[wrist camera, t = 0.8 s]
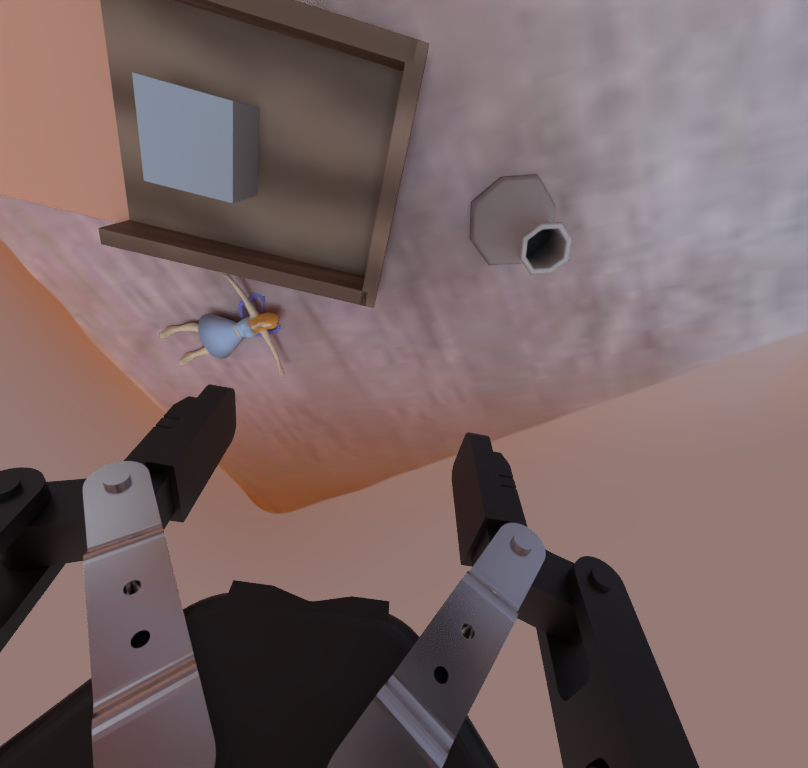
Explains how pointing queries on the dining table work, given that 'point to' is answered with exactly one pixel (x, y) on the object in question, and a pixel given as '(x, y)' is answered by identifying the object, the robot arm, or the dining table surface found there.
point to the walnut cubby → (273, 138)
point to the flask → (519, 225)
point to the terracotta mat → (59, 109)
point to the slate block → (196, 140)
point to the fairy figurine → (229, 330)
